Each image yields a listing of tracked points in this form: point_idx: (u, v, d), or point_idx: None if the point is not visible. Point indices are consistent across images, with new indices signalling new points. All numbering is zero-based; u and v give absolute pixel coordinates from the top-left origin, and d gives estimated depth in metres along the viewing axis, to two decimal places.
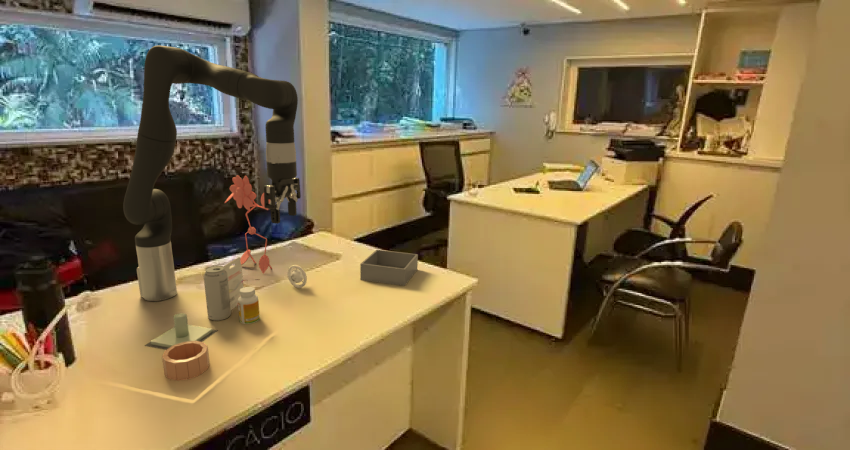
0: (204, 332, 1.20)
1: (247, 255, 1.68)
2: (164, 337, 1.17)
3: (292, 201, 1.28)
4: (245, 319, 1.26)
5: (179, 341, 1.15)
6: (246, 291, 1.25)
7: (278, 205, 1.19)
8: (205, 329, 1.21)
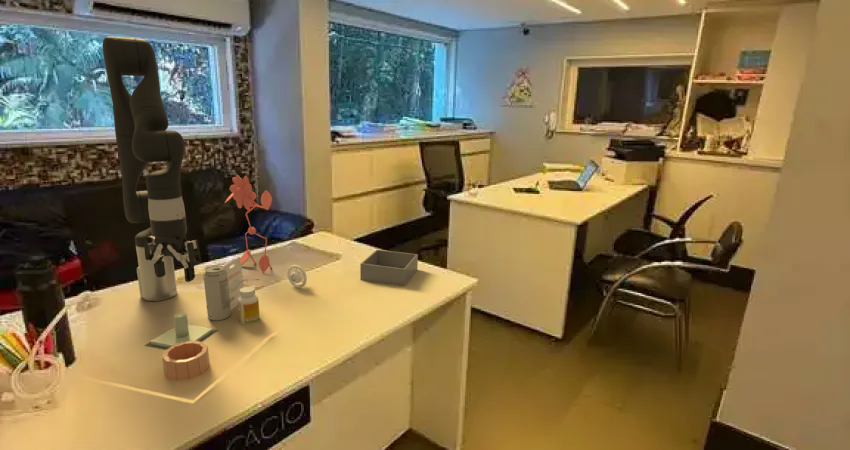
0: (204, 332, 1.20)
1: (247, 255, 1.68)
2: (164, 337, 1.17)
3: (160, 261, 1.14)
4: (245, 319, 1.26)
5: (179, 341, 1.15)
6: (246, 291, 1.25)
7: None
8: (205, 329, 1.21)
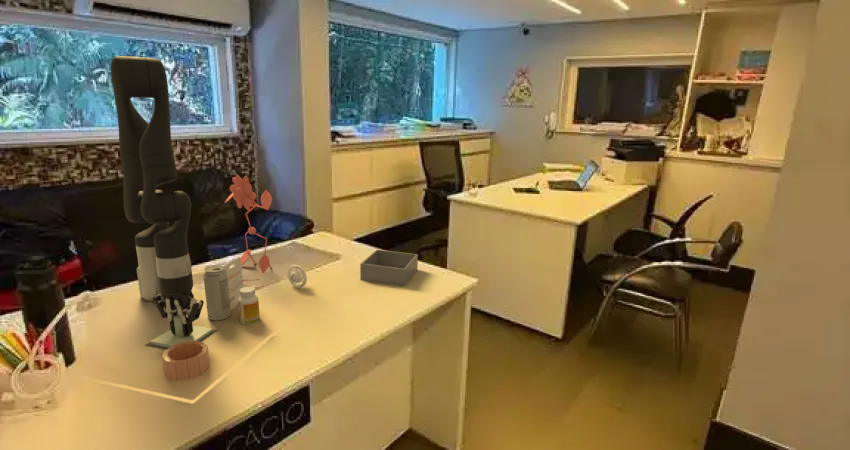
0: (204, 332, 1.20)
1: (247, 255, 1.68)
2: (164, 337, 1.17)
3: None
4: (245, 319, 1.26)
5: (179, 341, 1.15)
6: (246, 291, 1.25)
7: None
8: (205, 329, 1.21)
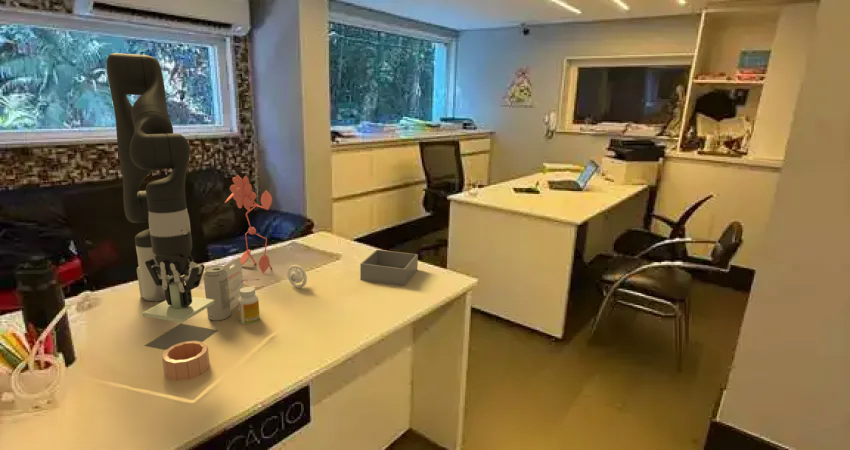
0: (205, 303, 1.03)
1: (247, 255, 1.68)
2: (158, 308, 1.00)
3: None
4: (245, 319, 1.26)
5: (176, 312, 0.98)
6: (246, 291, 1.25)
7: None
8: (206, 300, 1.04)
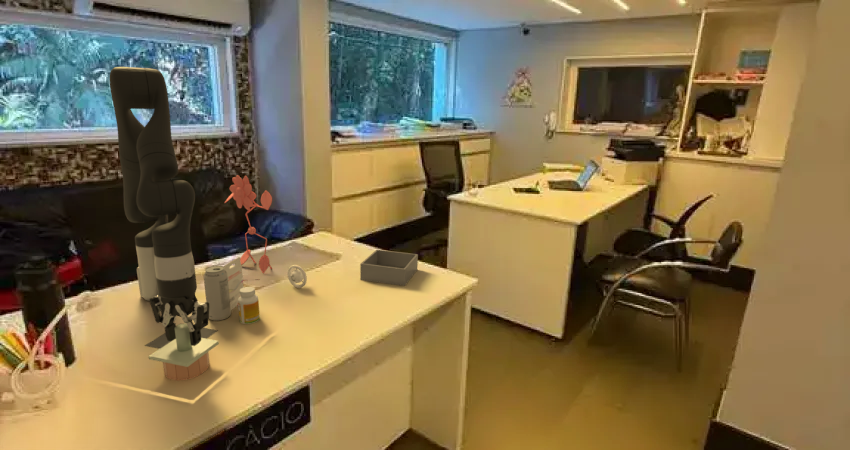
0: (209, 345, 1.06)
1: (247, 255, 1.68)
2: (164, 351, 1.03)
3: (172, 323, 1.04)
4: (245, 319, 1.26)
5: (181, 356, 1.01)
6: (246, 291, 1.25)
7: None
8: (210, 341, 1.07)
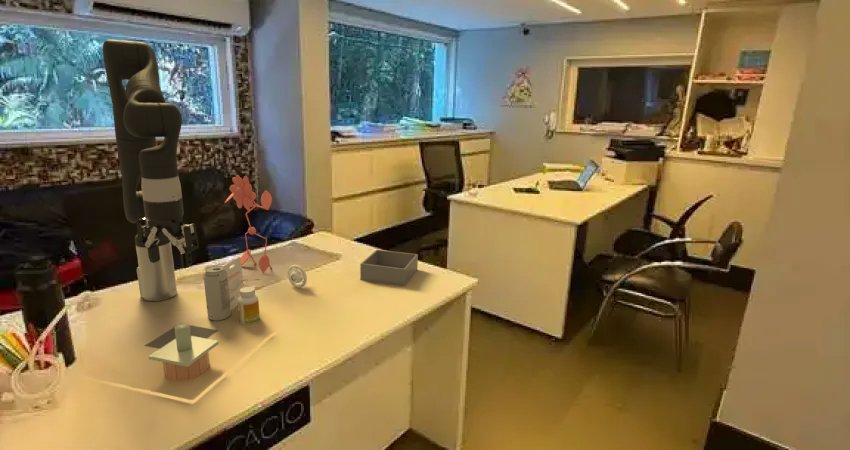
0: (209, 345, 1.06)
1: (247, 255, 1.68)
2: (164, 351, 1.03)
3: (154, 245, 1.06)
4: (245, 319, 1.26)
5: (181, 356, 1.01)
6: (246, 291, 1.25)
7: None
8: (210, 341, 1.07)
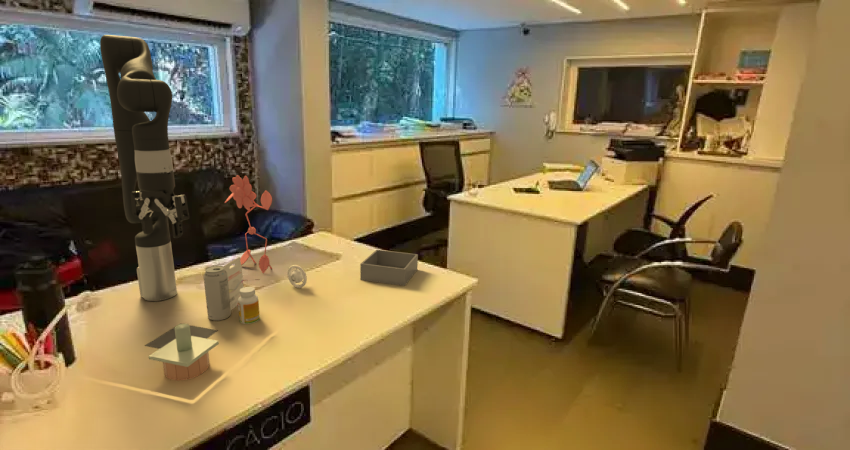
0: (209, 345, 1.06)
1: (247, 255, 1.68)
2: (164, 351, 1.03)
3: (148, 217, 1.12)
4: (245, 319, 1.26)
5: (181, 356, 1.01)
6: (246, 291, 1.25)
7: None
8: (210, 341, 1.07)
